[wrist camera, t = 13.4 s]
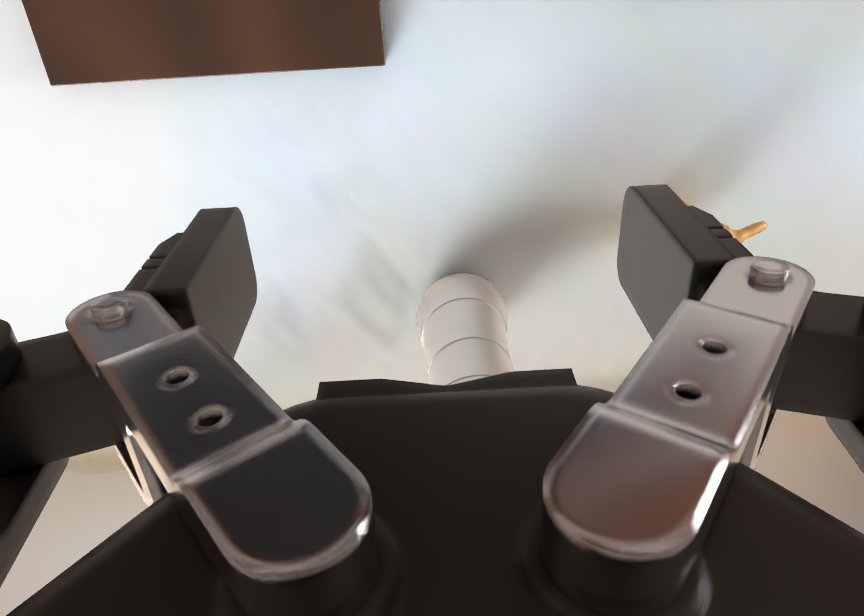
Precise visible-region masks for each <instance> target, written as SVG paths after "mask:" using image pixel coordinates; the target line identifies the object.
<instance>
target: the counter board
mask: <svg viewBox="0 0 864 616" xmlns="http://www.w3.org/2000/svg"><path fill="white" fill-rule="evenodd" d="M22 2H23V5H24V8H25V11H26V14H27V17H28V20H29V23H30V25H31V28H32V31H33V34H34V37H35V40H36V43H37V46H38V49H39V52H40V55H41V58H42V60H43V63H44V66H45V69H46V72H47V75H48V78H49V81H50V84H51V85H52V86H57V85H73V84H89V83H106V82H122V81H138V80H155V79H171V78H187V77H204V76H220V75H236V74H253V73H269V72H285V71H302V70H318V69H334V68H351V67H367V66H383V65H385V62H386V56H385V45H384V33H383V21H382V9H381V0H22Z"/></svg>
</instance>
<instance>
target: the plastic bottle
mask: <svg viewBox="0 0 864 616" xmlns="http://www.w3.org/2000/svg"><path fill="white" fill-rule="evenodd" d="M416 327H417V332H418V335H419V339H420V342H421V344H422V346H423V348H424V351H425V356H426V361H427V365H428V384H433V385H452V384H457V383H461V382H466V381H470V380H475V379H479V378H484V377H488V376H493V375H497V374H502V373H506V372H515V370H514V367H513V364H512V362H511V359H510V356H509V353H508V345H507V336H506V333H507V309H506V305H505V302H504V300H503V298H502V296H501V295H500V294H499V292H498V291H497V289H496V288H495V286H494V285H493V284H492V283H490V282H489V281H488V280H486V279H485V278H483V277H481V276H478V275H475V274H469V273H457V274H452V275H448V276H446V277H443V278H441V279H439V280H438V281H436V282H434V283H433V284H432V285H431V286H430V287H429V288H428V289H427V290H426V291H425V293H424V294H423V296H422V298H421V300H420V303H419V307H418V310H417V315H416Z"/></svg>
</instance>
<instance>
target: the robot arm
mask: <svg viewBox="0 0 864 616" xmlns="http://www.w3.org/2000/svg"><path fill="white" fill-rule="evenodd" d="M149 258H150V259H147V261H146V262H145V263H144V265H143V266H142V270H139V271H138V272H137V274H136V275H135V276H134V278H133V279H132V280H131V281H130V283H129V284H128V285H127V287H126V288H125V289H124V291H118V292H112V293H108V294H104V295H101V296H98V297H95V298H92V299H90V300H88V301H86V302H84V303H82V304H80V305H79V306H77V307H76V308H75V309H73V310H72V311H71V312H70V313H69V315H68V316H67V318H66V322H65V324H66V327H67V329H68V331H67V332H63V333H59V334H55V335H50V336H46V337H41V338H36V339H32V340H27V341H23V342H18V341H17V339H16V337H15V335H14V333H13V330H12V328H11V326H10V324H9V323H8V322H6V321H4V320H0V587H1V585H2V583H3V581H4V580H5V578H6V576H7V574H8V572H9V571H10V569H11V567H12V565H13V563H14V561H15V560H16V558H17V556H18V554H19V552H20V550H21V549H22V547H23V545H24V543H25V541H26V539H27V538H28V536H29V534H30V532H31V530H32V528H33V526H34V525H35V523H36V521H37V519H38V517H39V516H40V514H41V512H42V510H43V508H44V506H45V505H46V503H47V501H48V499H49V497H50V495H51V494H52V491H53V490H54V488H55V486H56V484H57V483H58V480H59V479H60V477H61V475H62V473H63V472H64V470H65V468H66V466H67V463H68V460H69V457H72V456H75V455H79V454H83V453H86V452H90V451H94V450H98V449H101V448H105V447H109V446H112V445H114V446H115V449H116V451H117V454H118V456H119V458H120V459H121V461H122V463H123V465H124V466H125V468H126V470H127V472H128V473H129V475H130V477H131V479H132V481H133V482H134V484H135V486H136V488H137V490H138V491H139V493H140V495H141V497H142V498H143V500H144V502H145V504H146V506H147V508H146V509H145V510H144V511H142V512H141V513H140V514H138V515H137V516H136V517H134V518H133V519H132V520H130V521H129V522H128V523H127V524H125V525H124V526H123V527H121V528H120V529H119V530H117V531H116V532H115V533H113V534H112V535H111V536H110V537H108V538H107V539H106V540H104V541H103V542H102V543H100V544H99V545H98V546H96V547H95V548H94V549H93V550H91V551H90V552H89V553H87V554H86V555H85V556H83V557H82V558H81V559H80V560H78V561H77V562H76V563H74V564H73V565H72V566H71V567H69V568H68V569H66V570H65V571H64V572H63V573H61V574H60V575H59V576H57V577H56V578H55V579H53V580H52V581H51V582H49V583H48V584H47V585H45V586H44V587H43V588H42V589H40V590H39V591H38V592H37V593H35V594H34V595H32V596H31V597H30V598H28V599H27V600H26V601H24V602H23V603H22V604H21V605H19V606H18V607H17V608H15V609H14V610H13V611H12V612H10V613H9V614H8V615H6V616H864V534H862V533H861V532H859V531H857V530H855V529H854V528H852V527H850V526H849V525H847V524H845V523H844V522H842V521H840V520H838V519H837V518H835V517H833V516H831V515H830V514H828V513H826V512H825V511H823V510H821V509H819V508H818V507H816V506H815V505H813V504H811V503H809V502H808V501H806V500H804V499H803V498H801V497H799V496H797V495H796V494H794V493H792V492H791V491H789V490H787V489H785V488H784V487H782V486H780V485H779V484H777V483H775V482H774V481H772V480H770V479H768V478H767V477H765V476H763V475H762V474H760V473H758V472H756V471H755V469H756V466H757V464H758V461H759V459H760V456H761V454H762V451H763V448H764V446H765V444H766V441H767V439H768V436H769V434H770V431H771V429H772V426H773V424H774V421H775V418H776V415H777V411H778V409H780V410H787V411H793V412H800V413H806V414H812V415H819V416H825V417H826V421H827V423H828V425H829V426H830V428H831V429H832V431H833V432H834V433H835V435H836V436H837V437H838V439H839V440H840V441H841V443H842V444H843V446H844V447H845V448H846V450H847V451H848V452H849V454H850V455H851V457H852V458H853V459H854V460H855V462H856V464H857V465H858V466H859V468H860V469H861V470H862V472H863V473H864V297H860V296H851V295H841V294H832V293H824V292H817V291H813V289H814V286H815V279H814V277H813V276H812V275H811V274H810V273H809V272H808V271H807V270H805V269H804V268H802V267H800V266H798V265H796V264H793V263H790V262H787V261H784V260H780V259H776V258H770V257H759V256H753V255H752V254H751V253H750V252H749V251H748V250H747V249H746V248H745V247H744V246H743V245H742V244H741V243H740V242H739V241H738V240H737V239H736V238H733V235H732V234H731V233H730V232H729V231H728V230H727V229H724V226H723V225H722V224H721V223H720V222H719V221H718V220H717V219H716V218H715V217H714V216H713V215H711V214H709V213H707V212H705V211H702V210H700V209H698V208H696V207H694V206H687V205H686V204H685V203H684V202H683V201H682V200H681V199H680V198H679V197H678V196H677V195H676V194H675V193H674V192H673V191H672V190H671V189H670V188H669V187H668V186H667V185H665V184H663V185H645V186H630V187H628V189H627V190H626V193H625V196H624V202H623V211H622V220H621V229H620V238H619V247H618V256H617V268H618V276H619V280H620V283H621V286H622V287H623V289H624V291H625V293H626V294H627V296H628V298H629V300H630V301H631V303H632V305H633V307H634V308H635V310H636V312H637V314H638V315H639V317H640V319H641V320H642V322H643V324H644V326H645V327H646V329H647V331H648V333H649V334H650V336H651V338H652V340H653V341H652V343H651V344H650V345H649V347H648V348H647V350H646V351H645V352H644V354H643V355H642V356H641V358H640V359H639V360H638V362H637V363H636V365H635V366H634V367H633V369H632V370H631V371H630V373H629V374H628V375H627V377H626V378H625V380H624V381H623V382H622V384H621V385H620V386H619V388H618V389H617V390H616V392H615V393H613V392H609V391H605V390H602V389H598V388H593V387H587V386H581V385H577V383H576V380H575V378H574V375H573V372H572V369H571V368H570V369H551V370H533V371H515V372H506V373H502V374H497V375H493V376H488V377H484V378H479V379H475V380H470V381H466V382H461V383H457V384H452V385H433V384H424V383H415V382H406V381H397V380H388V379H369V380H350V381H332V382H320V383H319V388H318V393H317V398H316V400H312V401H308V402H304V403H301V404H298V405H295V406H292V407H290V408H287V409H285V410H282V409H281V408H280V407H279V406H278V405H277V404H276V403H275V402H274V400H273V399H272V398H271V397H270V396H269V395H268V394H267V393H266V392H265V391H264V390H263V389H262V388H261V387H260V386H259V385H258V384H257V383H256V382H255V381H254V380H253V379H252V378H251V377H250V376H249V375H248V374H247V373H246V372H245V371H244V370H243V369H242V368H241V367H240V365H239V364H238V363H237V362H236V361H235V360H234V359H233V358H234V356H235V353H236V351H237V348H238V346H239V343H240V341H241V338H242V336H243V333H244V331H245V328H246V326H247V323H248V321H249V318H250V316H251V313H252V311H253V308H254V306H255V303H256V298H257V282H256V275H255V270H254V265H253V261H252V256H251V251H250V246H249V242H248V237H247V232H246V227H245V223H244V219H243V215H242V213H241V211H240V209H239V208H238V207H231V208H212V209H201V210H200V211H199V212H198V213H197V215H196V216H195V218H194V219H193V220H192V222H191V223H190V225H189V226H188V227H187V229H186V230H185V232H184V233H177V234H175V235H174V236H172V237H170V238H169V239H167V240H165V241H164V242H162V243H161V244H159V245H158V246H157V248H156V249H155V250H154V252H153V253H152V254H151V256H150V257H149Z"/></svg>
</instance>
